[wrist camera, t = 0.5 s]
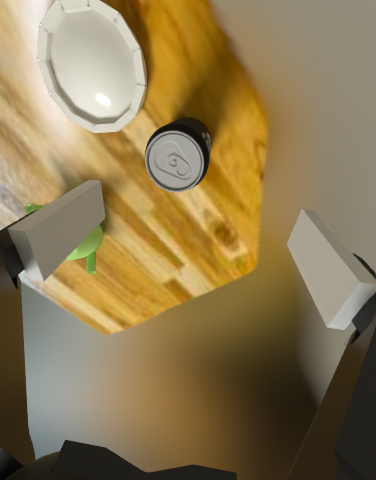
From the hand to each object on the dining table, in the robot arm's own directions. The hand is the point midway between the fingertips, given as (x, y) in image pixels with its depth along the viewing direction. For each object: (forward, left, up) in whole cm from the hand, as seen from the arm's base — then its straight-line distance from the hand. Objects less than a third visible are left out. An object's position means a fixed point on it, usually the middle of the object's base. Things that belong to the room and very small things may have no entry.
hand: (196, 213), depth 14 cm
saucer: (-17, +2, -20) cm, 26 cm away
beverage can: (-3, 0, -20) cm, 20 cm away
